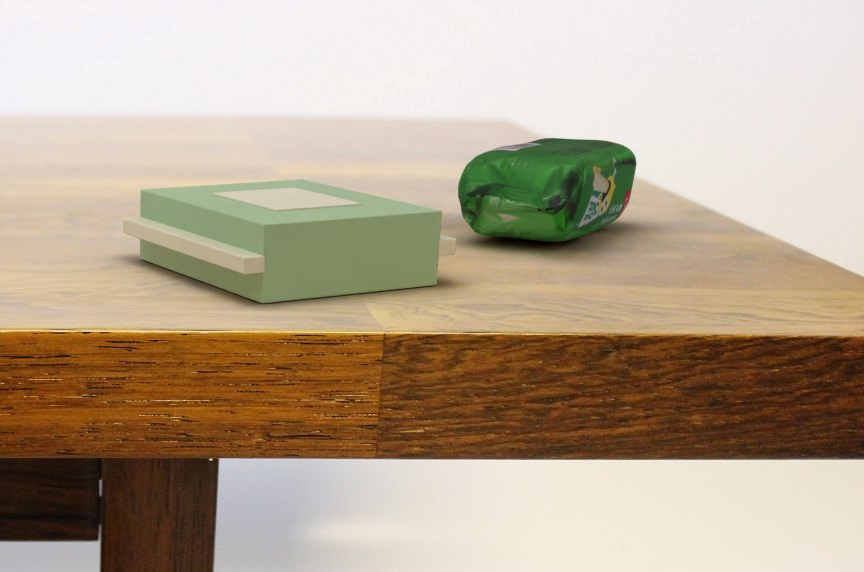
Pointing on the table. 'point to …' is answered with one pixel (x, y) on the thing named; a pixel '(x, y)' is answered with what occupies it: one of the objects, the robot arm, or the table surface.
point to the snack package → (547, 188)
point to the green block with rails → (289, 239)
